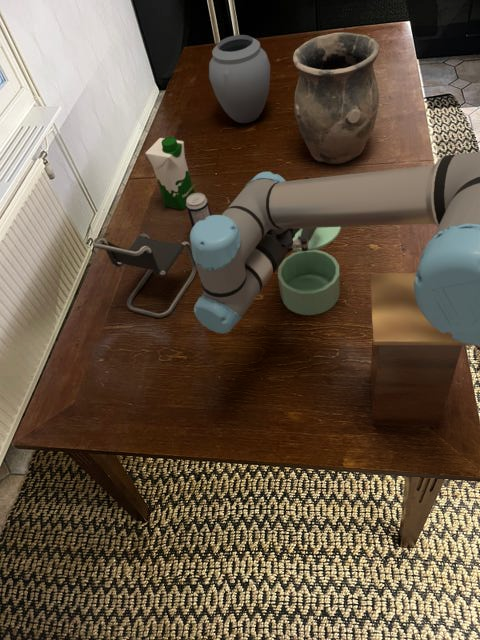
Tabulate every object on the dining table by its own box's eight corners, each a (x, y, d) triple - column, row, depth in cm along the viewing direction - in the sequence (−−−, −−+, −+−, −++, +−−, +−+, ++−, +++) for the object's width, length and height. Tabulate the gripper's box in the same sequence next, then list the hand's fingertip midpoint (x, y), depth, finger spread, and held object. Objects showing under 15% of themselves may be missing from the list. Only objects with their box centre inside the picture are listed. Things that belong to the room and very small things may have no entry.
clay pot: (302, 131, 167) (295, 32, 144) (377, 128, 162) (382, 25, 139) (294, 174, 154) (284, 73, 131) (375, 172, 148) (380, 67, 126)
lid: (341, 252, 103) (340, 213, 95) (267, 254, 106) (261, 217, 98) (341, 204, 112) (340, 165, 104) (272, 207, 115) (267, 170, 107)
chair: (121, 310, 130) (88, 244, 113) (156, 261, 139) (130, 194, 122) (166, 321, 125) (139, 254, 108) (199, 271, 134) (178, 202, 117)
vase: (209, 116, 182) (193, 43, 164) (258, 96, 186) (248, 22, 167) (233, 140, 170) (220, 65, 151) (286, 118, 174) (279, 42, 155)
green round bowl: (339, 315, 118) (339, 292, 113) (279, 315, 121) (275, 293, 115) (339, 271, 127) (339, 248, 121) (283, 272, 129) (280, 250, 124)
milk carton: (185, 213, 150) (167, 152, 135) (159, 207, 154) (139, 147, 138) (200, 194, 155) (184, 133, 139) (175, 189, 158) (157, 128, 143)
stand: (445, 432, 97) (473, 341, 76) (367, 429, 100) (373, 341, 79) (436, 368, 106) (459, 271, 84) (365, 368, 109) (369, 273, 87)
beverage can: (219, 229, 143) (210, 193, 134) (209, 242, 140) (200, 207, 131) (200, 225, 146) (191, 190, 136) (191, 239, 143) (180, 204, 133)
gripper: (224, 264, 101) (282, 191, 112) (297, 288, 94) (352, 208, 105) (216, 234, 95) (279, 161, 107) (294, 257, 88) (352, 177, 100)
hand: (315, 185), depth 106 cm, fingers closed on lid, 3 cm apart
